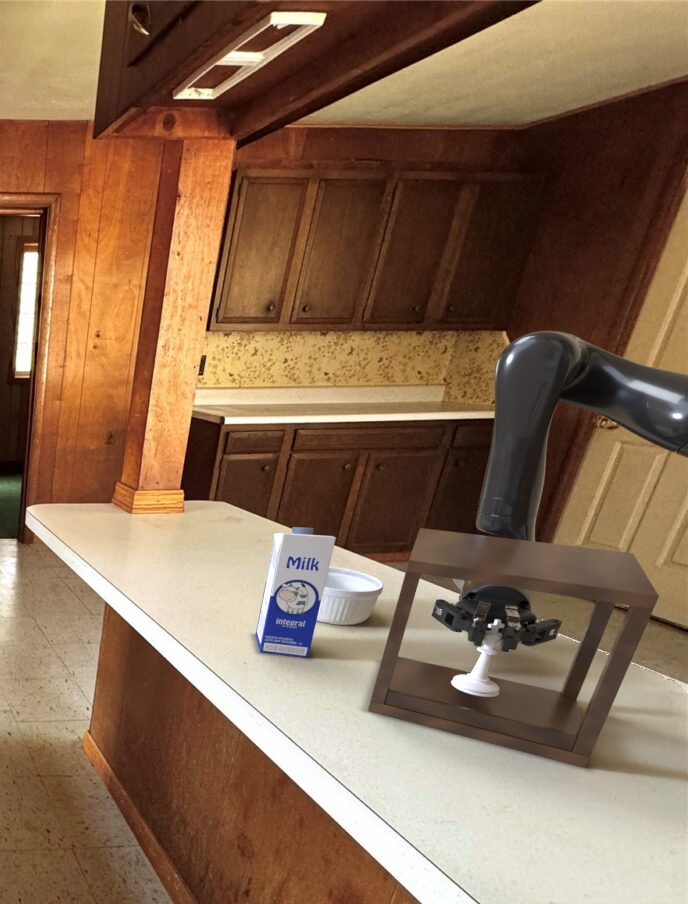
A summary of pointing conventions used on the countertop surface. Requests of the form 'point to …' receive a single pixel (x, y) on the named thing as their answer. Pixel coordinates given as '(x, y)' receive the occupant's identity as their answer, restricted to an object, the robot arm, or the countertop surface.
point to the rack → (517, 705)
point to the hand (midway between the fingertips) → (493, 642)
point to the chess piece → (482, 667)
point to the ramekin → (348, 596)
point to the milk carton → (293, 592)
